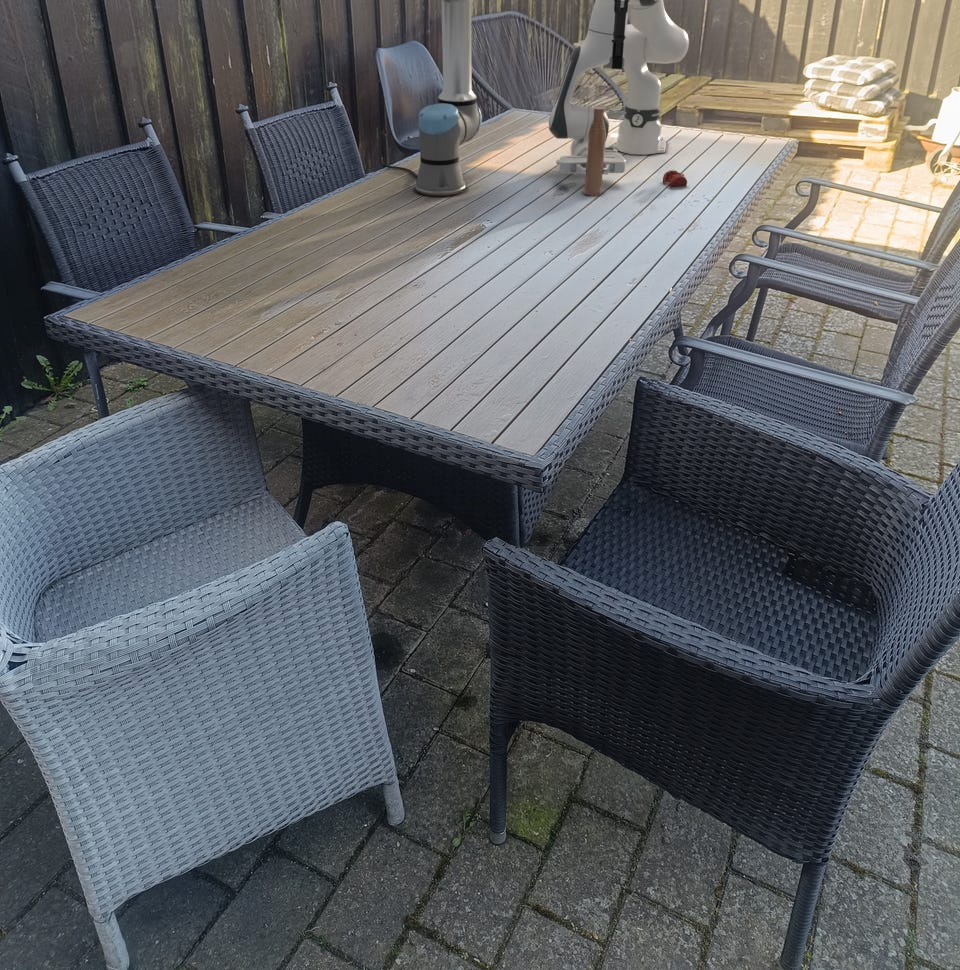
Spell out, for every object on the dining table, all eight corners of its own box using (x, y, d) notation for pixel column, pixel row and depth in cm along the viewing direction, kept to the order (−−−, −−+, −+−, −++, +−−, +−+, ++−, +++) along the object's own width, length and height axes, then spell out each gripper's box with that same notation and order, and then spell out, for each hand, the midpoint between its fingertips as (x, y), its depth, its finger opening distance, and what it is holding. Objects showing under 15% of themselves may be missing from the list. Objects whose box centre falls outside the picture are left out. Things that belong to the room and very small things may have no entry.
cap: (623, 68, 231) (624, 58, 230) (608, 67, 232) (609, 58, 230) (624, 65, 234) (625, 56, 233) (609, 65, 235) (610, 55, 234)
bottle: (588, 196, 253) (595, 110, 239) (581, 191, 257) (587, 107, 243) (604, 194, 254) (611, 109, 240) (596, 190, 258) (603, 105, 244)
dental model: (678, 166, 263) (689, 173, 257) (677, 180, 266) (688, 187, 260) (661, 168, 262) (672, 175, 256) (660, 182, 265) (671, 189, 259)
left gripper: (640, -30, 212) (631, 72, 226) (636, -35, 226) (628, 62, 239) (610, -29, 213) (603, 72, 226) (608, -35, 227) (602, 61, 240)
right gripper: (555, 149, 260) (560, 161, 249) (621, 148, 261) (629, 160, 250) (554, 170, 264) (559, 183, 253) (619, 169, 264) (627, 182, 253)
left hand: (616, 66), depth 233 cm, fingers closed on cap, 4 cm apart
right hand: (594, 171), depth 251 cm, fingers closed on bottle, 5 cm apart
